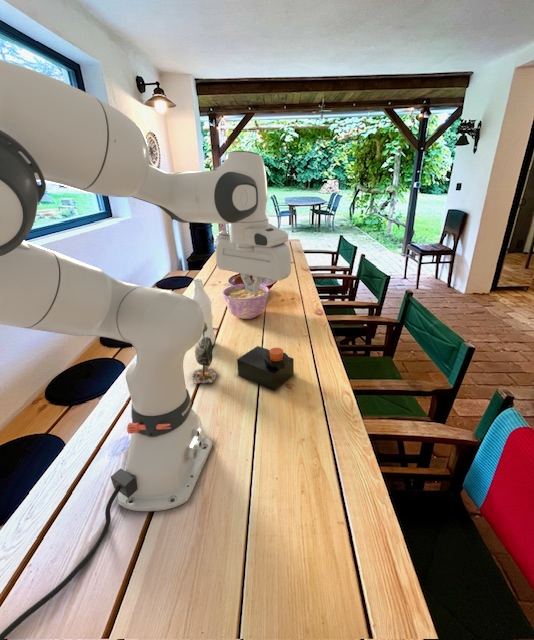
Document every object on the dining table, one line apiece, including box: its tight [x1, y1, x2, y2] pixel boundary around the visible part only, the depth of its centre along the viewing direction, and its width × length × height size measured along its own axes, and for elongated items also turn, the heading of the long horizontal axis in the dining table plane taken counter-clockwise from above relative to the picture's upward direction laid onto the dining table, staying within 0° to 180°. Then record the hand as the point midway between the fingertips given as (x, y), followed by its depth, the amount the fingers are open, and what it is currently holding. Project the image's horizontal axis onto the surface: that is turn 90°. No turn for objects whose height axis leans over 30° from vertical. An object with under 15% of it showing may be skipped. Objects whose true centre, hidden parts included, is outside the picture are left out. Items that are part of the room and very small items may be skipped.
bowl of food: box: [222, 283, 270, 320], centre depth 140 cm, size 20×20×12 cm
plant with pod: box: [191, 322, 218, 385], centre depth 97 cm, size 8×11×20 cm
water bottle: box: [190, 278, 216, 347], centre depth 114 cm, size 7×7×25 cm
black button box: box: [236, 345, 295, 392], centre depth 98 cm, size 15×10×8 cm
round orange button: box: [269, 347, 284, 362], centre depth 93 cm, size 4×4×2 cm
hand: (252, 291), depth 78 cm, fingers closed
